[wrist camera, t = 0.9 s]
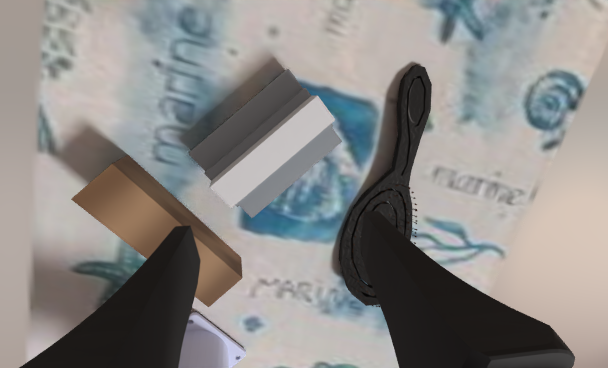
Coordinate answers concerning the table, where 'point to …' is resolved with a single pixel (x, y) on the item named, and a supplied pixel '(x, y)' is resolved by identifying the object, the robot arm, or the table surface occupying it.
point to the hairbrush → (389, 184)
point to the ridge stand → (267, 145)
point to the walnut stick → (157, 223)
